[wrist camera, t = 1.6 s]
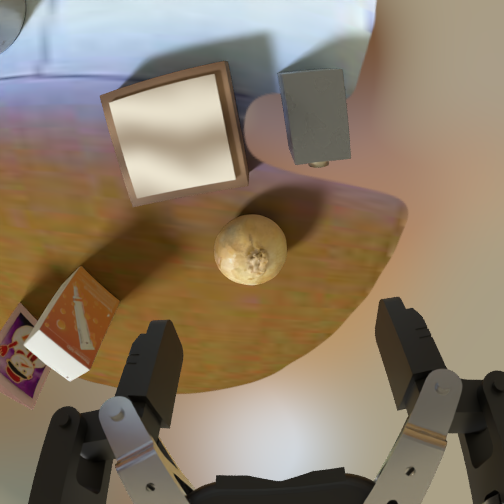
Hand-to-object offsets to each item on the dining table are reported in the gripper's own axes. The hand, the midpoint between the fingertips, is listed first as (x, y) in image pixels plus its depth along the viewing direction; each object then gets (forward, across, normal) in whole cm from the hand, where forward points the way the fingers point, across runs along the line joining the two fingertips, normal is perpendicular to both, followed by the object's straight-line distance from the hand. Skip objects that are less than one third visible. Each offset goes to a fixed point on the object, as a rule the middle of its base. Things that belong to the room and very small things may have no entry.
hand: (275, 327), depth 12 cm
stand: (+24, +8, -4) cm, 26 cm away
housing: (+24, -5, -4) cm, 25 cm away
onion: (+25, +3, +10) cm, 27 cm away
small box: (+24, +27, +16) cm, 40 cm away
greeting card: (+24, +45, +23) cm, 56 cm away
